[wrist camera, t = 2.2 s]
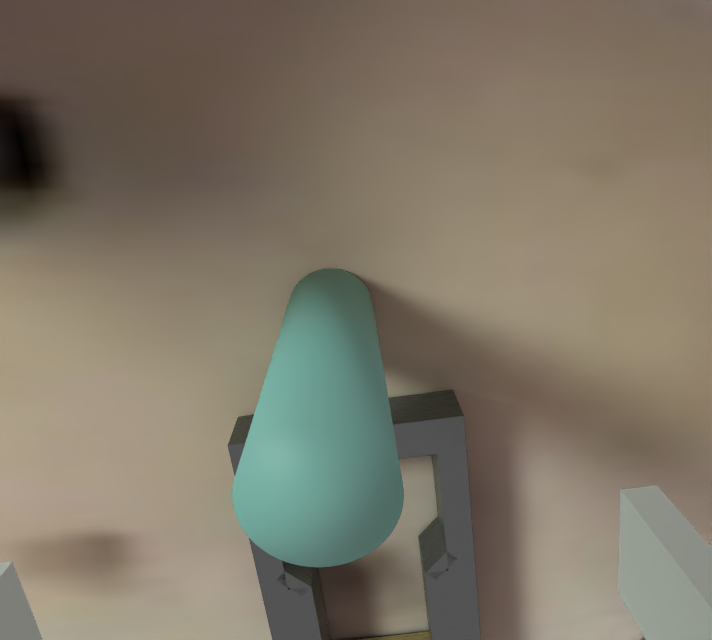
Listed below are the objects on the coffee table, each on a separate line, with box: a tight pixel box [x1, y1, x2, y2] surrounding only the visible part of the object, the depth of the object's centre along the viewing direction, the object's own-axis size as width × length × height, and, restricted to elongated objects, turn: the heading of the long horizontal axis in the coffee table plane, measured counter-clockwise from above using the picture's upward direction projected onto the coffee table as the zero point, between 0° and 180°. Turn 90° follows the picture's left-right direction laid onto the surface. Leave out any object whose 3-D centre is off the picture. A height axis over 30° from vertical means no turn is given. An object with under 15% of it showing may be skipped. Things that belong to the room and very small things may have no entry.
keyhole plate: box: [228, 390, 481, 640], centre depth 33 cm, size 20×12×3 cm, turn 7°
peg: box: [232, 268, 404, 567], centre depth 22 cm, size 4×4×16 cm
